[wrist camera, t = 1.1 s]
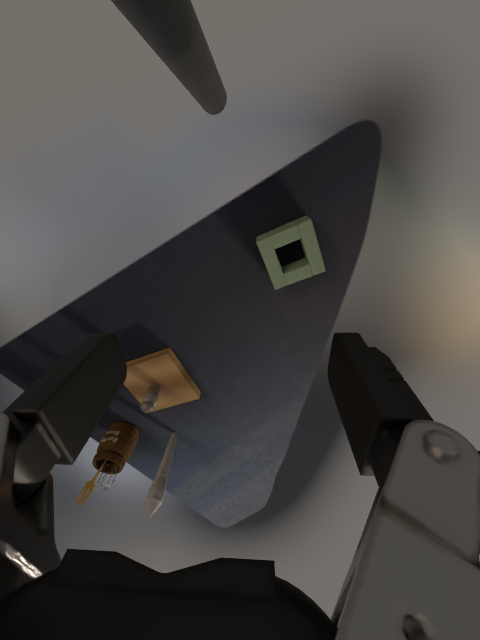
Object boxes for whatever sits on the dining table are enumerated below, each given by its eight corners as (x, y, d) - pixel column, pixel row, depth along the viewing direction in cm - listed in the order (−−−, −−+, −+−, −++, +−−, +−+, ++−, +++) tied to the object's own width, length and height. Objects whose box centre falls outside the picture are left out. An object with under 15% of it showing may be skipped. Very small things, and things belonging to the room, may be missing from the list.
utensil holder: (146, 432, 49) (118, 502, 39) (126, 443, 51) (93, 512, 41) (123, 415, 47) (86, 484, 37) (102, 427, 49) (61, 496, 39)
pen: (166, 434, 49) (136, 519, 37) (171, 426, 48) (143, 512, 36) (177, 438, 50) (152, 524, 38) (183, 431, 49) (159, 518, 36)
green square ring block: (256, 236, 29) (256, 242, 27) (306, 214, 28) (311, 218, 26) (273, 281, 32) (275, 289, 30) (320, 263, 31) (325, 271, 28)
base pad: (117, 365, 41) (95, 396, 35) (169, 347, 38) (155, 377, 33) (151, 406, 45) (137, 439, 40) (200, 391, 43) (192, 425, 37)
